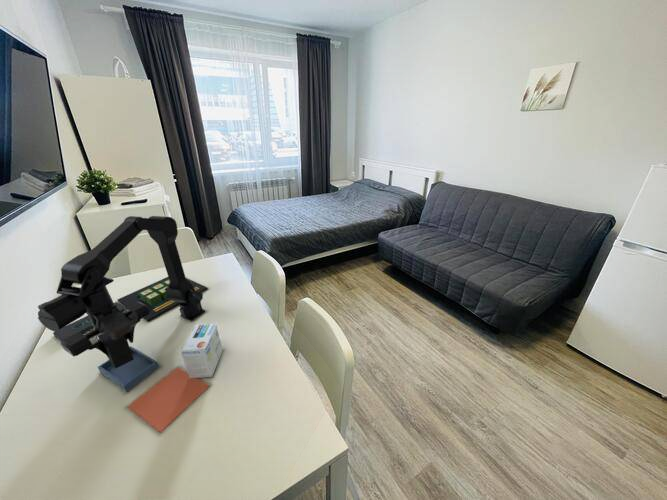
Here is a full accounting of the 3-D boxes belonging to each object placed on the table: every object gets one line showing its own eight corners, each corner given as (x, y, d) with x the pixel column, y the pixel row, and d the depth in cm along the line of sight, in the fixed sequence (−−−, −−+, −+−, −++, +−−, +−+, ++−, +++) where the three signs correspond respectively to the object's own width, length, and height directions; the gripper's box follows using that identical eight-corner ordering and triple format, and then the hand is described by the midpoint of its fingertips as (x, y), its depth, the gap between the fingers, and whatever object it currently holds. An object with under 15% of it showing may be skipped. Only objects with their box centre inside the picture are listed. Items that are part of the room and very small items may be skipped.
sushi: (148, 321, 100) (145, 313, 99) (117, 301, 113) (114, 293, 111) (207, 289, 119) (205, 282, 118) (176, 274, 132) (174, 268, 130)
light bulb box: (202, 351, 86) (194, 324, 82) (223, 349, 87) (217, 322, 82) (188, 379, 77) (179, 350, 72) (213, 377, 77) (205, 348, 73)
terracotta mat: (177, 367, 81) (177, 367, 81) (209, 385, 75) (209, 385, 75) (127, 407, 70) (127, 406, 70) (160, 432, 64) (160, 432, 64)
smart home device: (51, 332, 94) (115, 301, 110) (54, 335, 95) (117, 304, 110) (61, 340, 90) (126, 307, 106) (64, 344, 91) (128, 310, 107)
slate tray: (133, 351, 87) (130, 345, 86) (159, 367, 81) (157, 361, 80) (100, 372, 80) (97, 367, 79) (127, 392, 74) (123, 386, 73)
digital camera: (138, 357, 77) (132, 337, 74) (115, 369, 73) (107, 348, 70) (125, 341, 82) (119, 322, 80) (103, 351, 78) (96, 332, 76)
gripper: (68, 337, 59) (97, 386, 66) (152, 293, 74) (169, 336, 81) (47, 322, 64) (75, 369, 71) (130, 284, 79) (147, 325, 86)
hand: (120, 349), depth 77 cm, fingers closed on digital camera, 5 cm apart
